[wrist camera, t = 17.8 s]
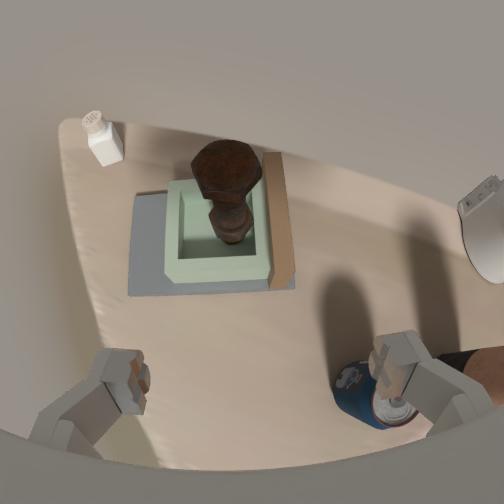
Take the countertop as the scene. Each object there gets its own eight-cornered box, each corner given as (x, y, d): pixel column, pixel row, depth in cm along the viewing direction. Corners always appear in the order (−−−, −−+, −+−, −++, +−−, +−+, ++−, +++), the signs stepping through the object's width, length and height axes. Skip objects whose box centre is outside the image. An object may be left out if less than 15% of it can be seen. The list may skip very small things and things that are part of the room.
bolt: (205, 221, 38) (184, 148, 24) (242, 207, 39) (241, 129, 25) (222, 263, 36) (207, 205, 22) (261, 247, 37) (270, 182, 23)
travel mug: (422, 357, 36) (531, 346, 17) (462, 347, 36) (565, 330, 17) (423, 409, 33) (528, 428, 14) (463, 396, 33) (564, 401, 14)
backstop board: (130, 296, 38) (101, 280, 29) (136, 199, 42) (115, 165, 33) (294, 289, 38) (308, 270, 30) (283, 190, 43) (291, 152, 34)
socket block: (174, 283, 37) (164, 273, 32) (176, 200, 41) (168, 181, 36) (268, 278, 38) (271, 267, 33) (261, 195, 41) (263, 175, 36)
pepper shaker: (125, 161, 44) (104, 122, 35) (102, 169, 44) (78, 132, 35) (123, 142, 45) (104, 104, 36) (101, 150, 45) (79, 114, 36)
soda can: (379, 410, 33) (427, 426, 22) (329, 415, 33) (363, 438, 22) (381, 359, 36) (431, 358, 24) (331, 361, 36) (367, 364, 24)
